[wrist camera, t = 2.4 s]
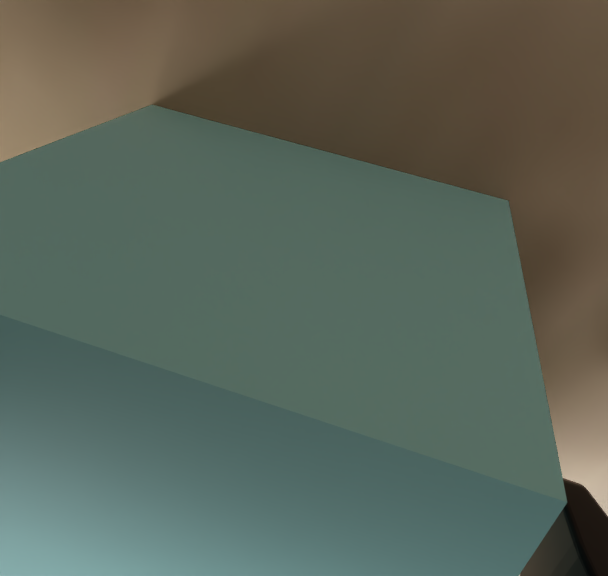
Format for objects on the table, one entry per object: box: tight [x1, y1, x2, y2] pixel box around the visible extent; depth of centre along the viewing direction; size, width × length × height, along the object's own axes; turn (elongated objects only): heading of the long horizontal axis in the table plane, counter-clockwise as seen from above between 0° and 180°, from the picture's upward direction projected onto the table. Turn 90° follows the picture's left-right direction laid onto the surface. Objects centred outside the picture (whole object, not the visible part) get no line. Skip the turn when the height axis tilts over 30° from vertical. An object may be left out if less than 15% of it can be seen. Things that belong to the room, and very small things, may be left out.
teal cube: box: [0, 105, 567, 576], centre depth 8 cm, size 6×6×6 cm
